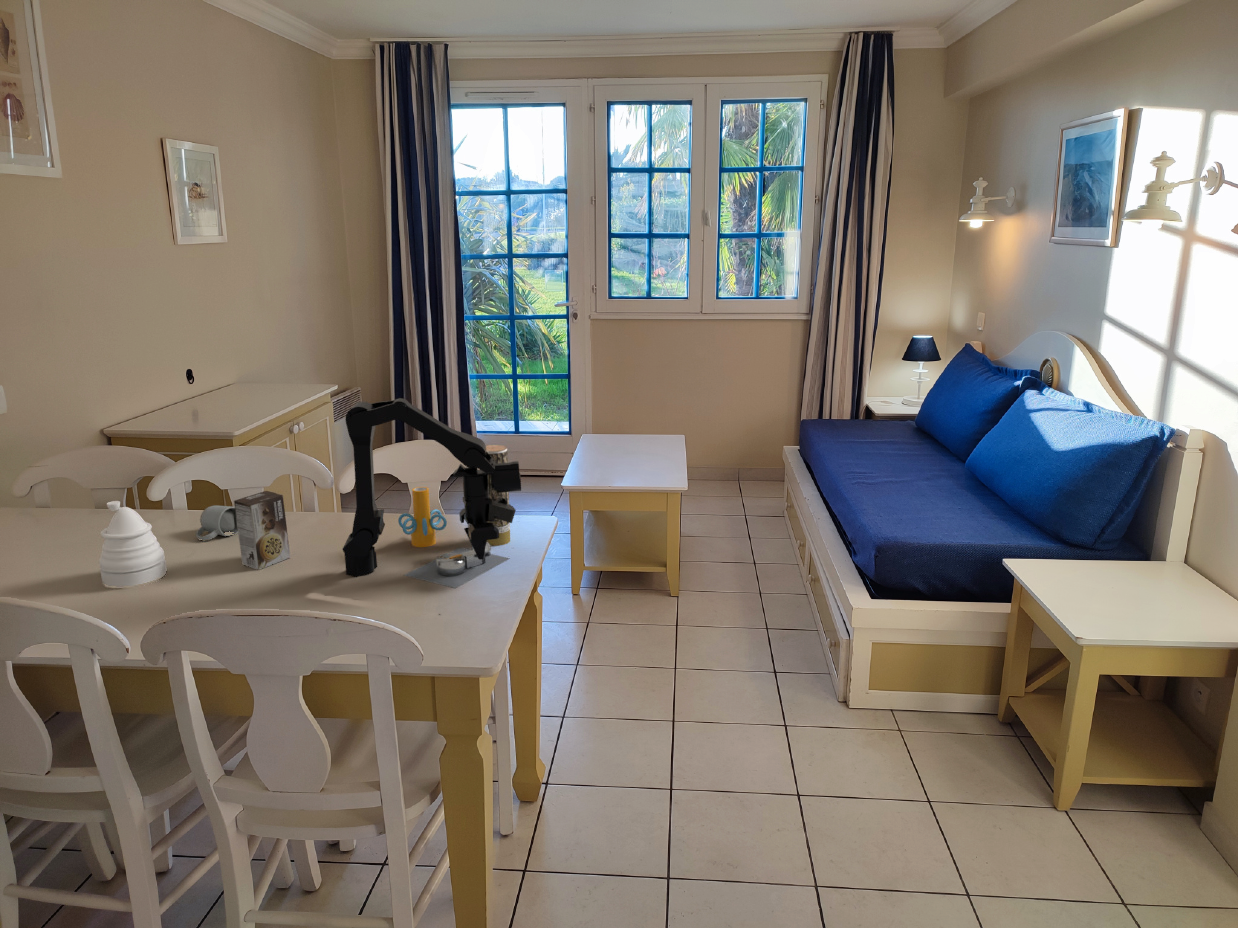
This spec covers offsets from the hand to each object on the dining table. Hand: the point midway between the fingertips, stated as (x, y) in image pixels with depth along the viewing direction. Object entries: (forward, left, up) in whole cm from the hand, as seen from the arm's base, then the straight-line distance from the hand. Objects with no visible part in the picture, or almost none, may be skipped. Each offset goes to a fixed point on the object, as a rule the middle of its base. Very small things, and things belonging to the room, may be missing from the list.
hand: (480, 558), depth 195 cm
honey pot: (-42, +66, -3) cm, 78 cm away
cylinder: (+5, +22, -3) cm, 23 cm away
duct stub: (+5, +4, -2) cm, 7 cm away
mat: (-3, +5, -3) cm, 6 cm away
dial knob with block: (-3, +3, -2) cm, 5 cm away
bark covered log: (+15, +7, -3) cm, 17 cm away
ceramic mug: (-14, +74, -3) cm, 76 cm away
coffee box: (-21, +48, -3) cm, 52 cm away
